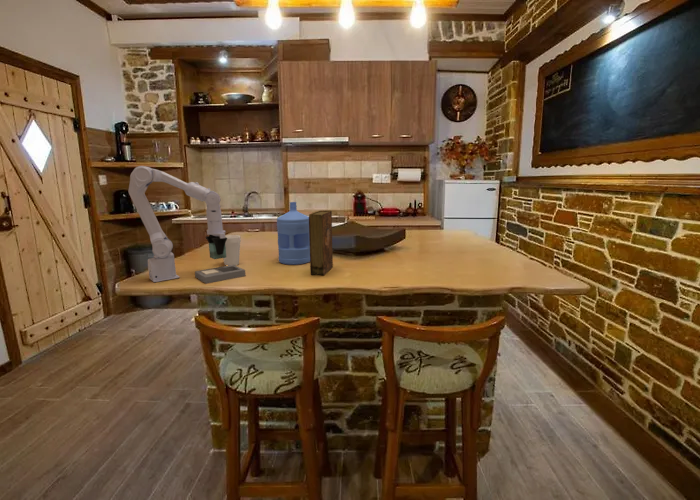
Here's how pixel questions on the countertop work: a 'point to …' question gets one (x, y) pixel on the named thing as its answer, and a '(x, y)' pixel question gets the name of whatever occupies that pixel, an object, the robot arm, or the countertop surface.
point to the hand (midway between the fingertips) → (217, 253)
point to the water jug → (293, 237)
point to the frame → (219, 273)
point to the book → (320, 242)
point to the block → (214, 254)
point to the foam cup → (232, 250)
